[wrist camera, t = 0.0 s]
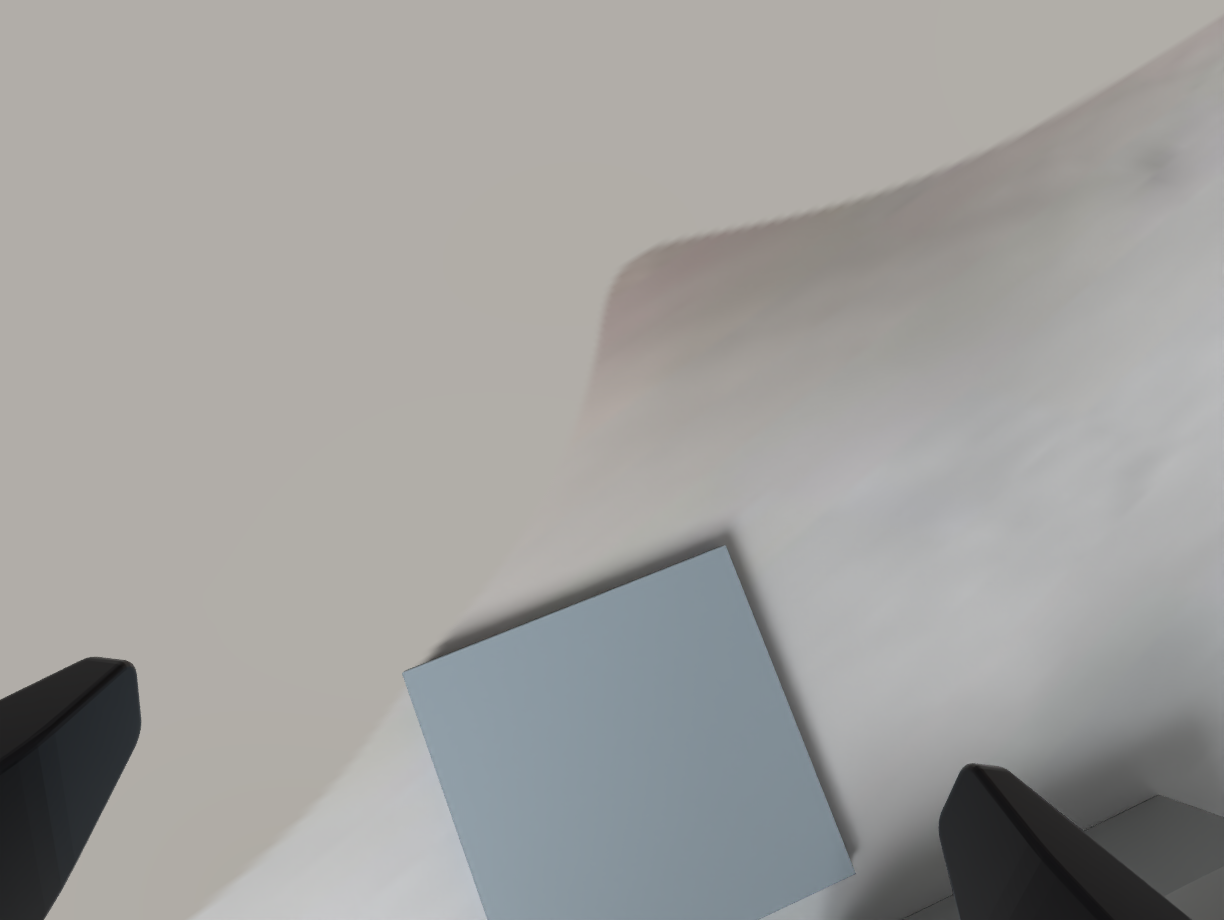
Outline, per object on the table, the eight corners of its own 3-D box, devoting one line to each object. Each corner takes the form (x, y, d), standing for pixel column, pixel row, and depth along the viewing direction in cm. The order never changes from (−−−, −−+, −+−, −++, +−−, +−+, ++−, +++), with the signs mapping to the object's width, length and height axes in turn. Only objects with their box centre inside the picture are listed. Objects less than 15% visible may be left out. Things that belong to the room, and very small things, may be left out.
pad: (847, 865, 23) (855, 873, 23) (525, 1017, 22) (525, 1029, 21) (720, 546, 24) (725, 545, 24) (405, 670, 23) (402, 673, 22)
